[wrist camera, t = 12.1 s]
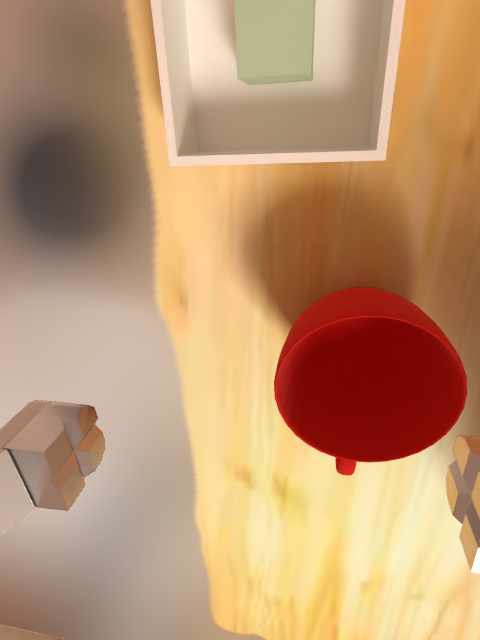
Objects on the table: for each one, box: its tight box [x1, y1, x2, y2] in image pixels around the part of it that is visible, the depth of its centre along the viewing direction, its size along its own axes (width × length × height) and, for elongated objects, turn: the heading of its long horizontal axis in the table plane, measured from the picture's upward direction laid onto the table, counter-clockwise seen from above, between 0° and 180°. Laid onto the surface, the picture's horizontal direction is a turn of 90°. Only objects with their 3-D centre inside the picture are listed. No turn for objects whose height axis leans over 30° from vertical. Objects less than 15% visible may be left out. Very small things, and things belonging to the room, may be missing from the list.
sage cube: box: [234, 0, 316, 85], centre depth 24 cm, size 4×4×4 cm
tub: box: [151, 0, 406, 166], centre depth 24 cm, size 14×14×6 cm
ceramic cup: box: [274, 288, 467, 475], centre depth 32 cm, size 13×17×10 cm
